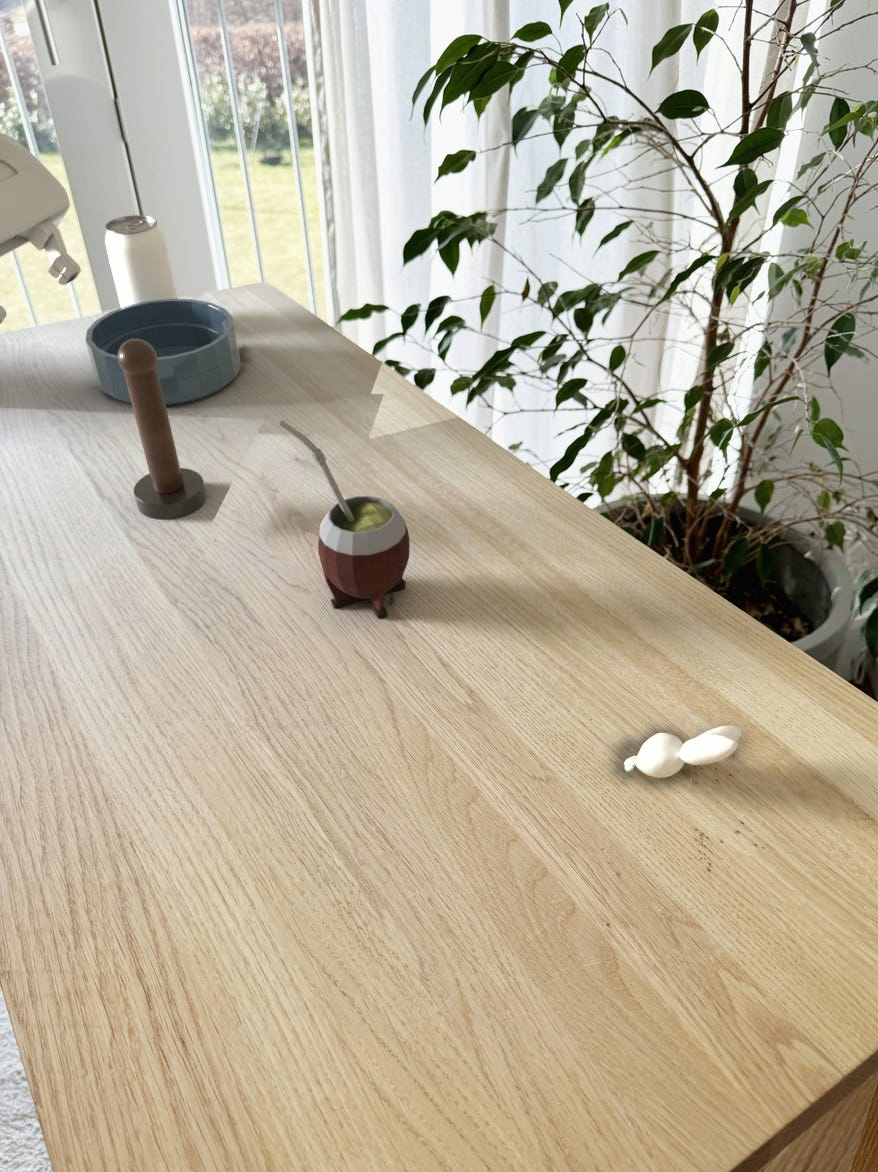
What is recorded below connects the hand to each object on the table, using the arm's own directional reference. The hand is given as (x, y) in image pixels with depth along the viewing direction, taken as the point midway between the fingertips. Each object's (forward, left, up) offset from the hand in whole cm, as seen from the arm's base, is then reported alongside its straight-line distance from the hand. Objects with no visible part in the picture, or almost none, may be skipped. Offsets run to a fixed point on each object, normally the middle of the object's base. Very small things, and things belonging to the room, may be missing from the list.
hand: (37, 299), depth 82 cm
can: (-6, +34, -18) cm, 39 cm away
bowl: (0, +22, -18) cm, 28 cm away
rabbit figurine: (+53, -31, -18) cm, 64 cm away
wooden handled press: (+9, -4, -18) cm, 20 cm away
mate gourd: (+28, -14, -18) cm, 36 cm away
